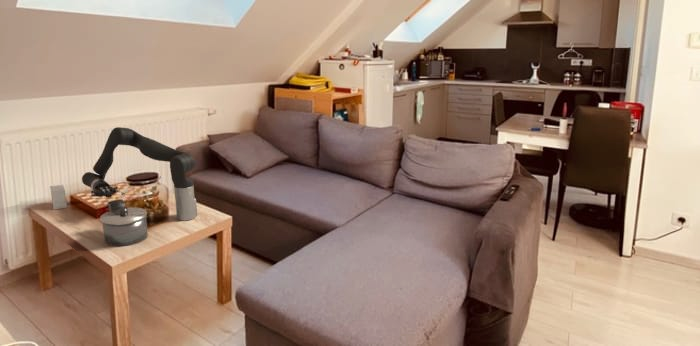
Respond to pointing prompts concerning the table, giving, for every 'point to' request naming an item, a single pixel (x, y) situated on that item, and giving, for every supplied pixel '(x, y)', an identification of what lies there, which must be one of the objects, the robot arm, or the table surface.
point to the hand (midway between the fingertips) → (109, 195)
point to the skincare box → (58, 197)
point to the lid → (122, 214)
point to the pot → (125, 233)
